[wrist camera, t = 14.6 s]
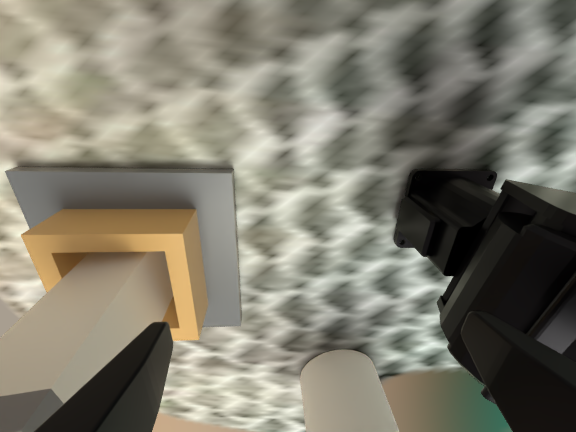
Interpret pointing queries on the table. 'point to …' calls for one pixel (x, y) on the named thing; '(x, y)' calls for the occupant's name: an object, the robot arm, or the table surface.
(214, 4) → the table surface
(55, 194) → the socket plate
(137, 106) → the table surface
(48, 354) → the plug
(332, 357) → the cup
